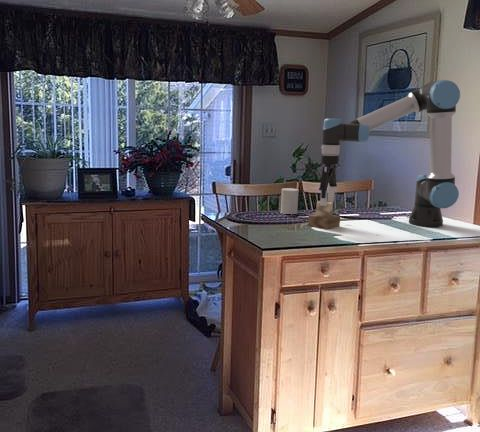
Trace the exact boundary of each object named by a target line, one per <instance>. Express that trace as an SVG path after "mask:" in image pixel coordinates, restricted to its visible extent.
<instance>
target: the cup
mask: <svg viewBox="0 0 480 432" xmlns="http://www.w3.org/2000/svg"><path fill="white" fill-rule="evenodd" d="M299 190H300V189H297V188H291V187H289V188H288V187H287V188H286V187H285V188H284V187H283V188H281V198H280V214H281V213H283V214H291V215H290V216H293V215H292V214H297V215H298V203H299V192H300V191H299ZM283 214H282V215H283Z"/></svg>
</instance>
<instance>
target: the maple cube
mask: <svg viewBox="0 0 480 432" xmlns="http://www.w3.org/2000/svg"><path fill="white" fill-rule="evenodd" d="M333 208H334V201H328V200H327V206H321V205H320V200H318V201H316V208H315V209H316V210H315V214H316V216H320V217H331V216H332V215H333Z"/></svg>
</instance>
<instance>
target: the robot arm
mask: <svg viewBox="0 0 480 432" xmlns="http://www.w3.org/2000/svg"><path fill="white" fill-rule="evenodd" d="M460 90H461V89H460V87H459V86H458V85H457V84H456V83H455V82H454V81H451V80H447V79H440V80H436V81H431V82H428V83H426V84H424V85H422V86H420V87H419V88H417V89H415V90H413V91H411V92H409V93H408V94H407V96H405V97H402V98H400V99H399V100H396V101H394V102H392V103H389V104H386V105H385V106H383V107H380V108H378V109H376V110H374V111H371V112H369V113H366V114H365V115H363V116H360V117H357V118H356V119H353V120H351V121H349V122H345V123H342V119H341V118H327V117H326V118H325V119H324V120H323V127H322V139H321V140H322V141H321V146H320V149H321V156H320V157H321V158H320V163H321V164H322V165H324V166H323V167H322V171H321V172H322V173H321V178H320V183H319V187H318V190H319V191H320V196H319V197H320V200H319V201H320V205H321V206H327V201H328V202H335V192H336V191H335V190H336V187H337V186H338V184H337V174H336V173H337V172H336V171H337V169H336V167H337V165H339V161H340V156H339V155H340V150H341V149H340V148H341V147H340V146H341V145H340V144H341V142H354V143H358V142H359V143H365V142H367V141H368V140H369V138H370V132H371V131H374V130H375V129H378V128H380V127H382V126H385V125H387V124H389V123H391V122H394V121H396V120H399V119H401V118H403V117H405V116H408V115H409V114H410V115H411V114H412V113H416V114H417V113H420V112H423V111H426V116H429V118H430V120H429V121H430V134H429V136H430V137H429V138H430V141H429V143H430V145H429V147H430V149H429V151H430V152H429V161H430V163H429V167H430V169H429V174H419V175H417V178H416V182H415V183H416V184H415V185H416V187H415V195H414V196H415V197H414V206H413V208H412V210H411V213H410V215H409V218H408V223H409V224H411V225H413V226H414V225H415V226H417V227H424V226H429V227H428V228H440V227H439V226H441V227H443V225H444V218H443V215H442V211H441V209H448V208H450V207H452V206H454V205H455V204H456V202H458V199H459V193H460V192H459V189H458V187H457V185H456V176H455V175H454V174H453V173H452V138H453V137H452V133H453V132H452V130H453V129H452V127H453V126H452V125H453V124H452V123H453V122H452V121H453V115H455V114H456V111H457V109H456V108H457V104H458V103H459V101H460V98H461V91H460ZM337 188H338V187H337Z"/></svg>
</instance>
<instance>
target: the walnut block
mask: <svg viewBox="0 0 480 432" xmlns="http://www.w3.org/2000/svg"><path fill="white" fill-rule="evenodd" d="M307 218H308V219H307V220H308V221H307V227H314V228H318V229H324V230H331V229H335V228H339V227H340V225H341V224H340V222H341V215H336V214H332V216H331V217H320V216H316V213H313V214H309V215H308V217H307Z"/></svg>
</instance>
